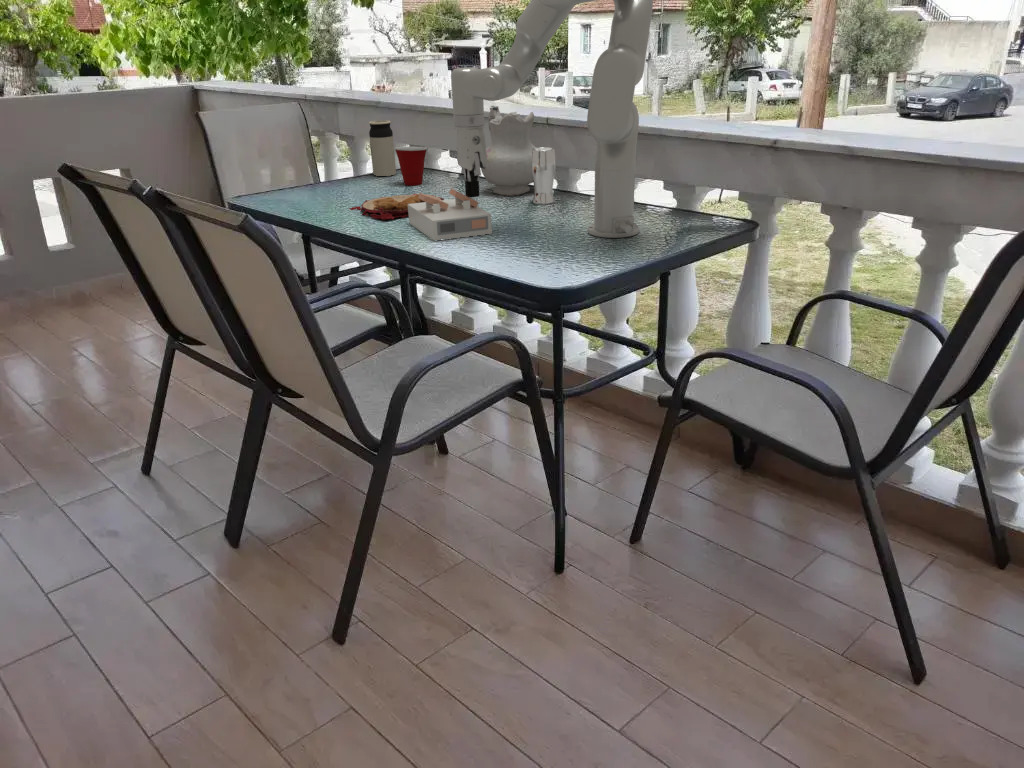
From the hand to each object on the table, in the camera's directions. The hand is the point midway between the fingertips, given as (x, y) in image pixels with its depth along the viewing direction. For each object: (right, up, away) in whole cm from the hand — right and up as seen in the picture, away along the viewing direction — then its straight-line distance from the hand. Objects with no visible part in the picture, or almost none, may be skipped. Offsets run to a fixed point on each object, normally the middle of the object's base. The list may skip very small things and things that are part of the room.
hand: (472, 196), depth 202 cm
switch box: (-6, -8, 0) cm, 10 cm away
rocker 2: (-3, -1, -1) cm, 3 cm away
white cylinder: (+19, +4, +27) cm, 33 cm away
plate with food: (-22, +2, +26) cm, 34 cm away
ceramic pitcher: (+9, +12, +44) cm, 46 cm away
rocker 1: (-10, -3, -4) cm, 11 cm away
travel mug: (-35, +25, +76) cm, 87 cm away
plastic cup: (-22, +18, +59) cm, 65 cm away
